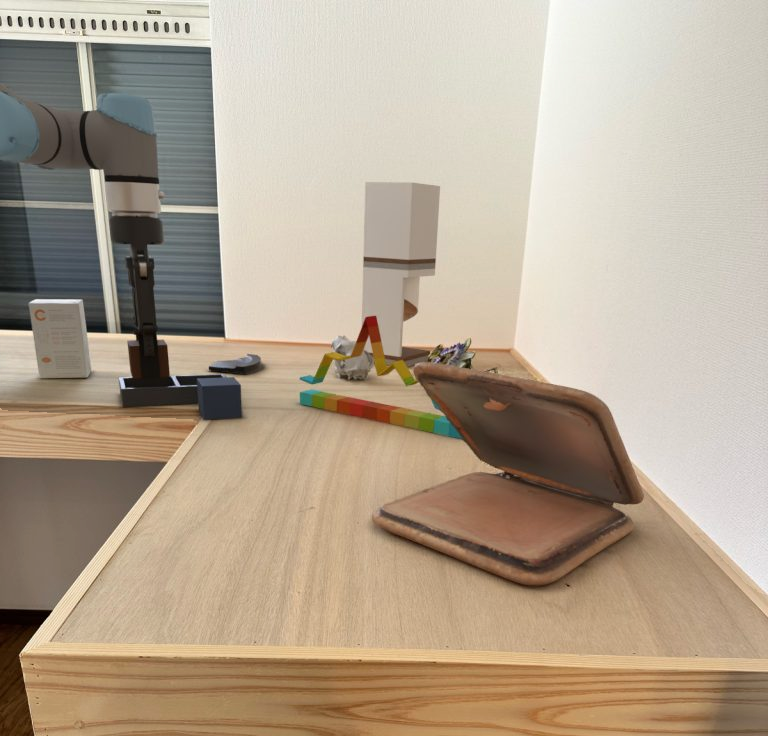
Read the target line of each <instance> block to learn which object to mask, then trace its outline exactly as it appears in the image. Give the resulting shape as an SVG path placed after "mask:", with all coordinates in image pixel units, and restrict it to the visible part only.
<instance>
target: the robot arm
mask: <svg viewBox="0 0 768 736" xmlns="http://www.w3.org/2000/svg"><path fill="white" fill-rule="evenodd" d="M154 117H155V116H154V109H153V105H152V103H151V102H150V101H149V100H148V99H147V98H145V97H143V96H140V95H135V94H129V93H122V92H121V93H119V92H110V93H100V94H99V95H97V98H96V106H95V109H93V110H92V109H91V110H71V109H59V108H54V107H51V106H47V105H45V104H40V103H38V102H35V101H31V100H28V99H25V98H23V97H21V96H19V95H18V94H16V93H15V92H13V91H12V90H11V89H10V88H8V87H7V86H6V85H5V84H3V83H2V82H0V162H5V163H21V164H24V165H25V166H27V167H29V168H38V169H44V170H45V169H46V170H49V171H51V170H55V169H58V170H95V171H102V170H103V174H104V189H105V201H106V210H107V211H108V212H109V213H111V216H109V218H108V225H109V235H110V241H111V242H112V243H114V244H118V245H129V247H128V248H129V256H124V263H125V268H126V269H127V279H128V285H129V286H130V289H131V301H132V310H133V316H132V319H133V321H134V322H133V323H134V326H135V328H134V330H133V335H134V336H135V340H138V342H139V352H140V363H141V374H142V378H146V377H160V368H159V356H158V344H157V340H158V329H159V328H158V325H157V311H156V303H155V291H154V287H155V284H156V283H155V274H154V273H155V272H154V270H155V258H154V257H152V256H149V249H148V245H154V246H155V245H163V244H164V242H165V238H164V223H163V220H162V219H161V218H160V217H158V214H161V213H162V203H161V201H160V200H163V199H165V197H166V196H165V193H164V192H163V191H159V190H160V178H159V177H160V176H159V163H158V160H159V159H158V146H157V145H158V143H157V142H158V141H157V138H158V135H157V132H156V125H155V123H156V122H155V118H154Z"/></svg>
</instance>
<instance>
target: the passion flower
mask: <svg viewBox="0 0 768 736" xmlns="http://www.w3.org/2000/svg"><path fill="white" fill-rule="evenodd" d="M471 345H472V338H470V337H469V338H467V339H465V340H464V343H461V342H457V343H456V344H453V346H452V345H450V347H446V348H444V344H443V343H439V344H438V345H437V346H436V347H435V348H433V350H432V351H431V352H430V355H428V357H429V358H428V361H427V362H431V363H438V364H444V365H449V366H456V367H461V368H468V369H472V368H473V367H472V359H473V358H475V356H476V350H471V351H468V350H469V348H470V347H471ZM485 371H486V372H491V371H493V373H496V374H499V372H498V366H496V367H493V368H490V369H486V370H485Z"/></svg>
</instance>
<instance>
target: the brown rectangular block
mask: <svg viewBox="0 0 768 736" xmlns="http://www.w3.org/2000/svg"><path fill="white" fill-rule="evenodd" d="M126 342H127V351H128V360H129V361H128V362H129V373H130V374H131V377H132V378H133V379H139V378H142V374H141V363H140V352H139V342H138V340H136V339H133V340H132V339H131V340H130V339H129V340H127V341H126ZM157 344H158V356H159V368H160V377H146V378H162V377H170V376H171V373H170V359H169V349H168V348H169V347H168V344H167V343H166V341H165V339H157Z"/></svg>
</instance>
